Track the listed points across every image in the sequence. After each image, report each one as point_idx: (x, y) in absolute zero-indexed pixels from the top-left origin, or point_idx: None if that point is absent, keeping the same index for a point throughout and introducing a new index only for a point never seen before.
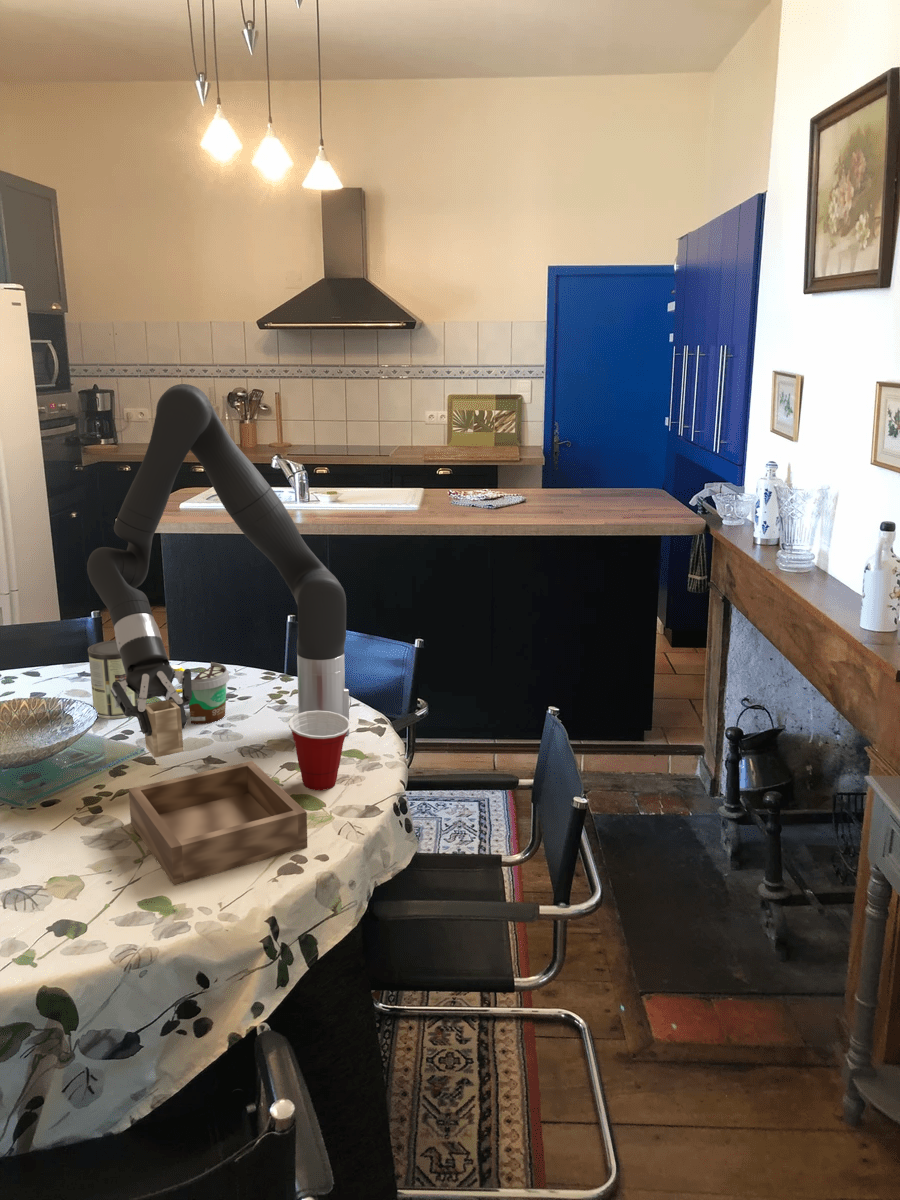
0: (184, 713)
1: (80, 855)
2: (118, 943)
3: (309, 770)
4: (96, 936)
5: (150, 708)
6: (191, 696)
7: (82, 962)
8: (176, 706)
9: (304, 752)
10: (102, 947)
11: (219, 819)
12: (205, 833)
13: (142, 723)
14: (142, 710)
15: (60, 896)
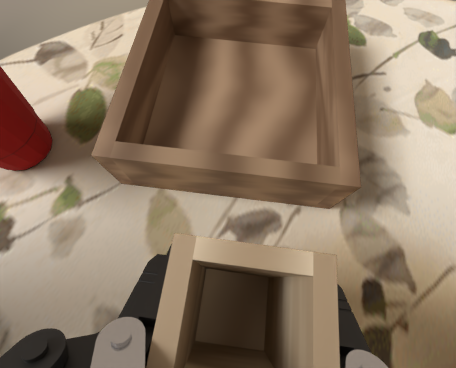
0: (143, 282)
1: (414, 162)
2: (394, 8)
3: (31, 109)
4: (411, 23)
5: (315, 344)
6: (23, 342)
7: (426, 3)
8: (178, 269)
9: (7, 84)
10: (408, 10)
11: (220, 120)
12: (254, 100)
13: (344, 305)
14: (361, 358)
15: (443, 93)
